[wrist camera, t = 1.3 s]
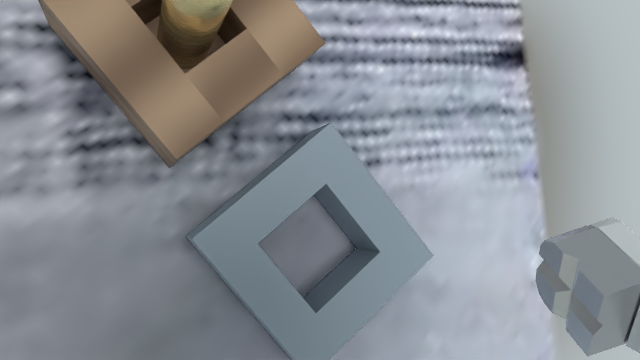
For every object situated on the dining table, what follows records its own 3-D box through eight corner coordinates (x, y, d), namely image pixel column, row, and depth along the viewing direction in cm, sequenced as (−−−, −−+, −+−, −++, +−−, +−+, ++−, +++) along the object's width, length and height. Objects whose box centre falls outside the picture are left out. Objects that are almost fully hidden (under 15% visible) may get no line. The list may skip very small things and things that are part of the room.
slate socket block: (185, 236, 36) (191, 239, 32) (311, 131, 39) (330, 122, 35) (293, 361, 38) (310, 378, 34) (405, 251, 41) (433, 255, 37)
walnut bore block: (49, 25, 34) (33, -12, 28) (193, -68, 37) (204, -118, 31) (169, 167, 36) (176, 159, 30) (297, 67, 39) (325, 43, 33)
